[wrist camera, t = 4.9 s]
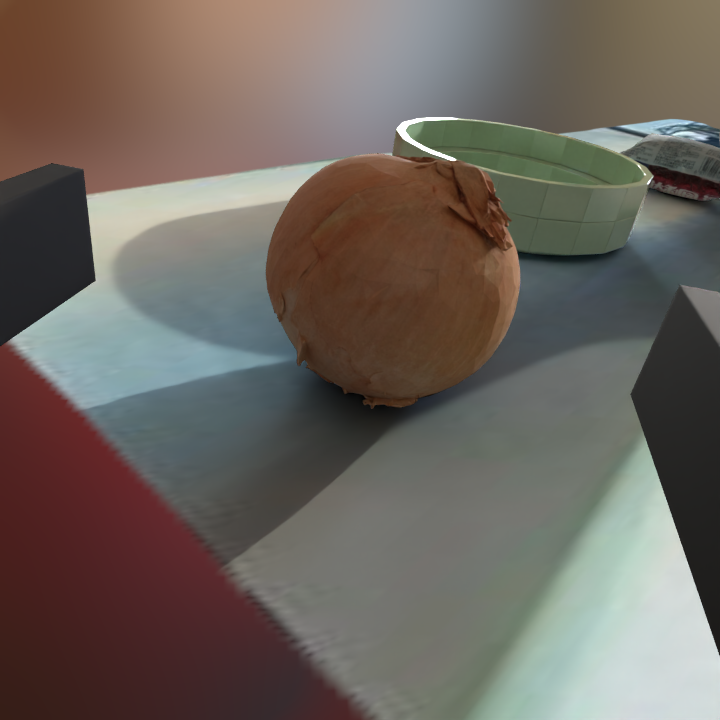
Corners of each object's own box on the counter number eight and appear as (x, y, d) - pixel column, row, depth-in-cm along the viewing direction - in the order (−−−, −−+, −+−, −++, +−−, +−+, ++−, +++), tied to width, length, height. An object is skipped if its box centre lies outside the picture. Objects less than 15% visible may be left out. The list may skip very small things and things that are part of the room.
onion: (449, 437, 27) (623, 277, 22) (290, 474, 20) (491, 252, 15) (345, 286, 31) (472, 119, 26) (183, 273, 24) (311, 40, 19)
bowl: (409, 250, 38) (424, 169, 35) (373, 169, 53) (382, 108, 50) (674, 273, 40) (707, 200, 38) (568, 189, 56) (586, 133, 53)
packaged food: (629, 169, 67) (646, 122, 64) (745, 201, 61) (769, 151, 58) (601, 181, 61) (618, 130, 58) (726, 218, 55) (752, 163, 52)
